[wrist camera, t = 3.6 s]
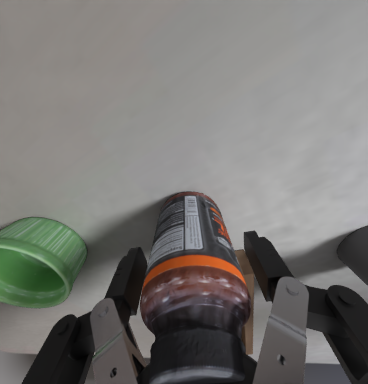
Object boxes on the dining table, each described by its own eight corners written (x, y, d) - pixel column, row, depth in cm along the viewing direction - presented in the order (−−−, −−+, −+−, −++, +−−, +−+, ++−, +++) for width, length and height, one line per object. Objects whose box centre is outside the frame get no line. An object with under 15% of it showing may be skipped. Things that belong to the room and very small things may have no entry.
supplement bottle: (227, 224, 17) (296, 403, 7) (177, 244, 18) (171, 418, 8) (204, 177, 14) (258, 349, 4) (148, 204, 15) (82, 385, 5)
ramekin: (-3, 246, 18) (-54, 285, 14) (21, 194, 15) (-37, 225, 11) (73, 279, 21) (48, 318, 17) (107, 241, 18) (85, 278, 14)
